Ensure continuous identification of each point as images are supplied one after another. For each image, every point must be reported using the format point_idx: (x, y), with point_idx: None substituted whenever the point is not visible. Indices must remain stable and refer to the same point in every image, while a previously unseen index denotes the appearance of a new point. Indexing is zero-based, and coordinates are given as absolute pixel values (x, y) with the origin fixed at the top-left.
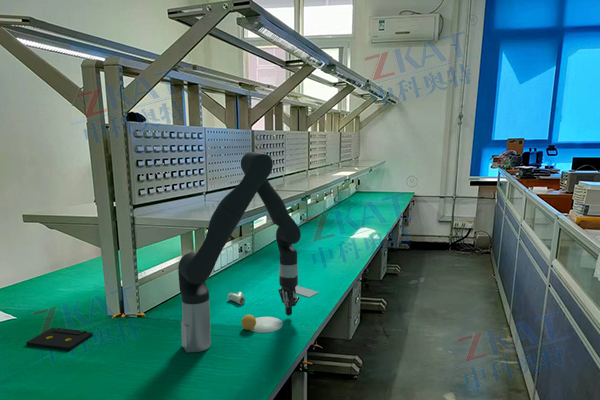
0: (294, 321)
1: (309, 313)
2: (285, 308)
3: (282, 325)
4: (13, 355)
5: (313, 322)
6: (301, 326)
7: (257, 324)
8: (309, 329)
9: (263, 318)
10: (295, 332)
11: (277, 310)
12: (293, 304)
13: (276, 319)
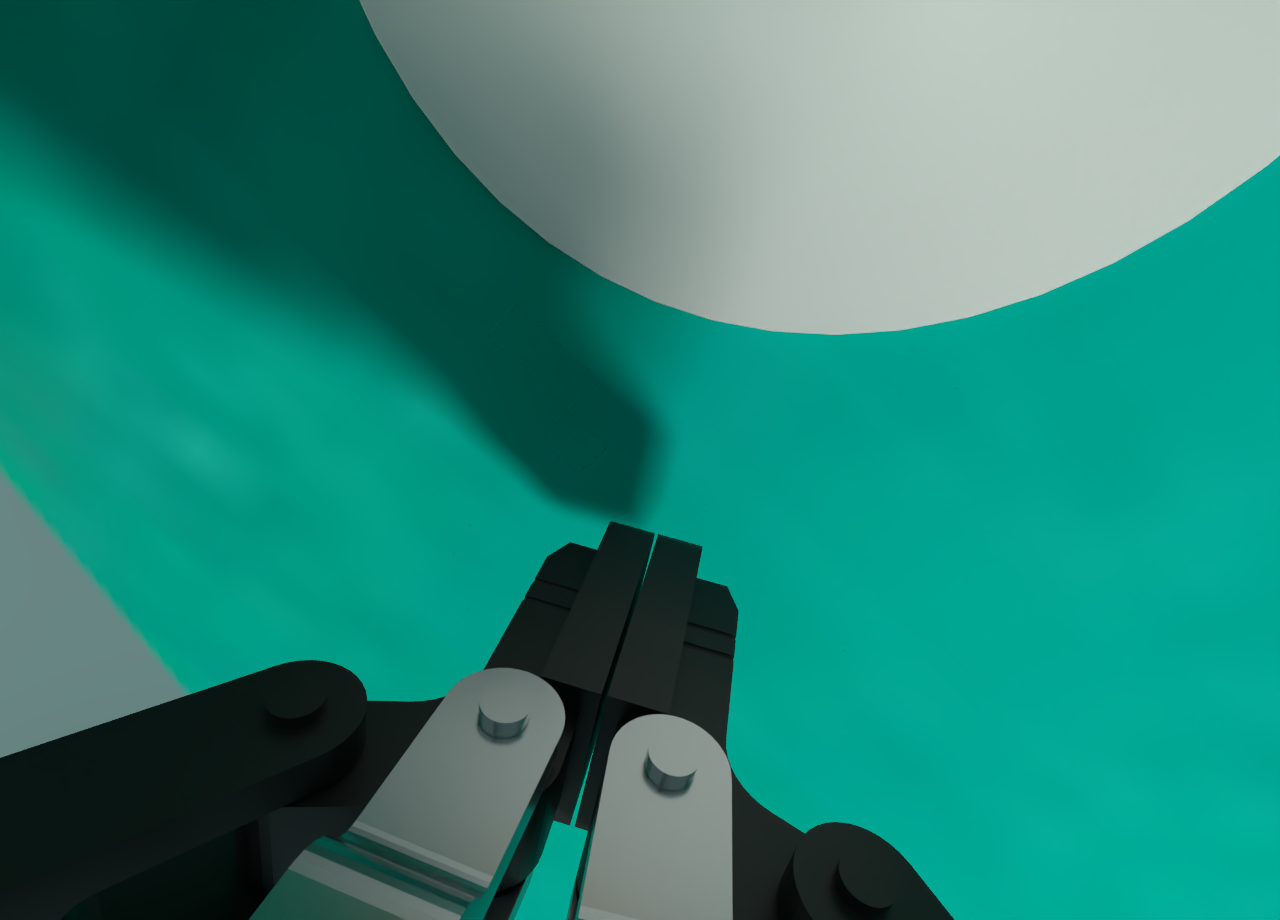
0: (460, 493)
1: (546, 852)
2: (679, 651)
3: (450, 141)
4: None
5: (238, 653)
6: (202, 416)
7: None
8: (36, 419)
9: (1251, 9)
10: (13, 115)
11: (1185, 680)
12: (236, 838)
13: (817, 273)
